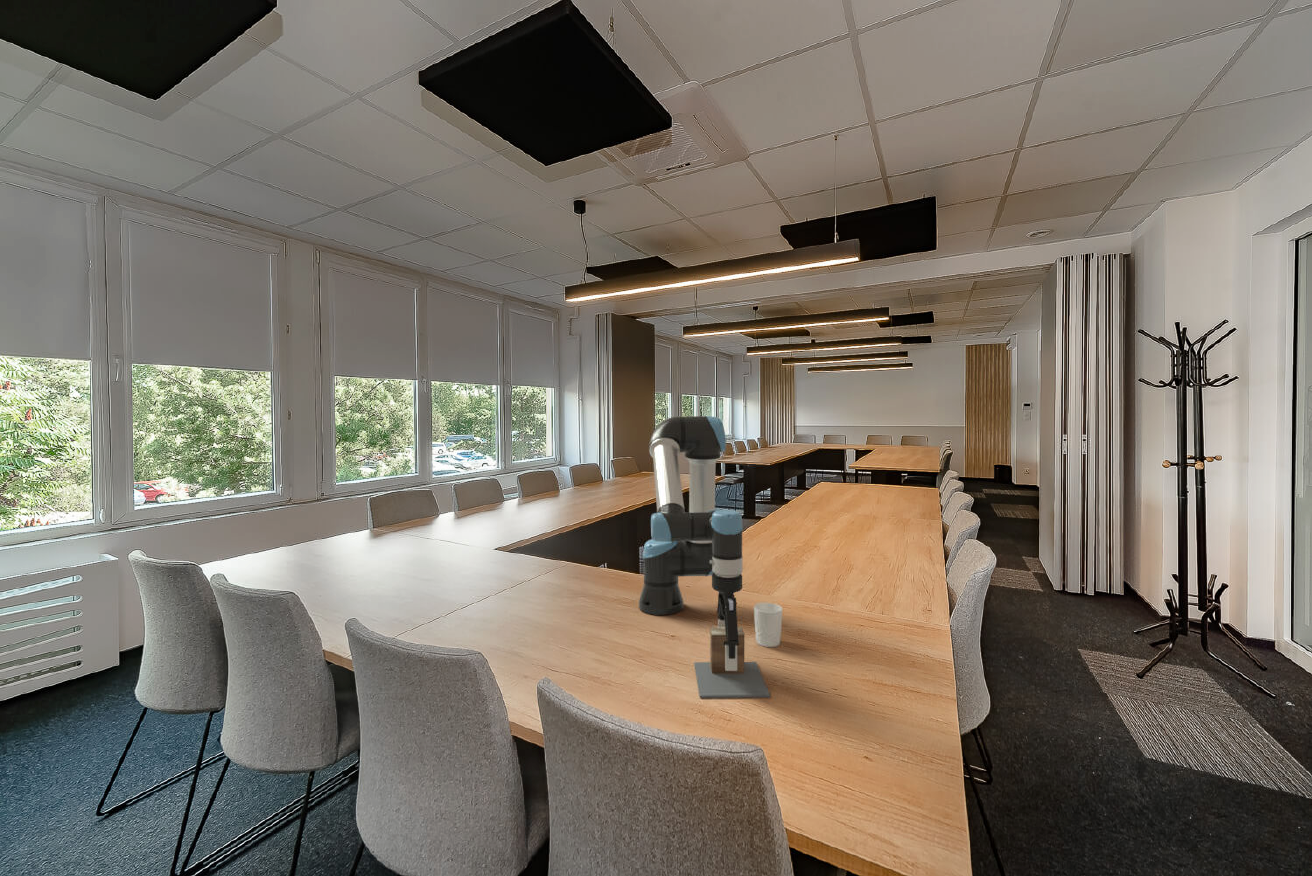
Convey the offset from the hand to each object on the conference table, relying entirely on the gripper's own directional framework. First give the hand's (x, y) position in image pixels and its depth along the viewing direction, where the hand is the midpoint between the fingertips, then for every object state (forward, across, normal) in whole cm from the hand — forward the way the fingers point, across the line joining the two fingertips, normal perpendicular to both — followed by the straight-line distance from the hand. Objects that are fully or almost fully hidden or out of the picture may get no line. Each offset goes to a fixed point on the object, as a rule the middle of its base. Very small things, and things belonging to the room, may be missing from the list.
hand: (727, 656), depth 128 cm
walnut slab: (+3, 0, 0) cm, 3 cm away
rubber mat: (+4, +4, 0) cm, 6 cm away
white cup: (+4, -17, +14) cm, 22 cm away
